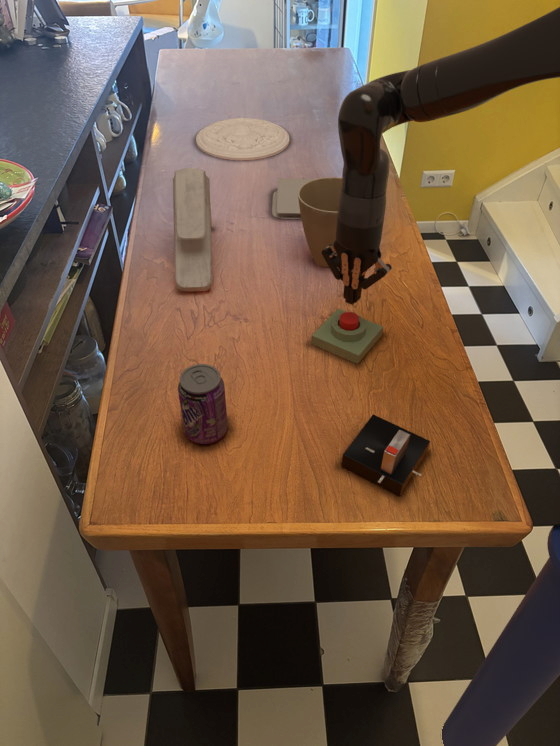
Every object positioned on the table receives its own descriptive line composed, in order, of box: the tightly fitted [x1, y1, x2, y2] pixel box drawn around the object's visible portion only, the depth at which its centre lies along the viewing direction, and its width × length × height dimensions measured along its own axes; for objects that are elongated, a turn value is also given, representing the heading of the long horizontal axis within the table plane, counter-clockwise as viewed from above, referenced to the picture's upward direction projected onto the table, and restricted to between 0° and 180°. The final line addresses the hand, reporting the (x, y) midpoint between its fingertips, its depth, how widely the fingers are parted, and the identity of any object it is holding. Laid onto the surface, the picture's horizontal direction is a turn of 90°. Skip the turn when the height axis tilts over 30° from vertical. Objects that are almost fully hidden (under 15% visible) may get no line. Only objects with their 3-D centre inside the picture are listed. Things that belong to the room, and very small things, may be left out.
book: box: [271, 178, 315, 220], centre depth 152 cm, size 15×23×4 cm, turn 89°
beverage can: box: [177, 363, 228, 445], centre depth 94 cm, size 7×7×12 cm
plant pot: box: [298, 176, 342, 269], centre depth 130 cm, size 15×15×16 cm
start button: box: [339, 311, 360, 331], centre depth 112 cm, size 4×4×2 cm
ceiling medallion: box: [195, 117, 290, 161], centre depth 180 cm, size 28×28×3 cm
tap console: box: [341, 414, 431, 497], centre depth 93 cm, size 12×12×3 cm
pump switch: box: [311, 308, 384, 365], centre depth 114 cm, size 10×10×4 cm
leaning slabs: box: [172, 167, 213, 292], centre depth 132 cm, size 8×24×23 cm
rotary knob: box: [380, 430, 410, 475], centre depth 89 cm, size 5×2×5 cm, turn 146°
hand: (351, 301), depth 109 cm, fingers closed
